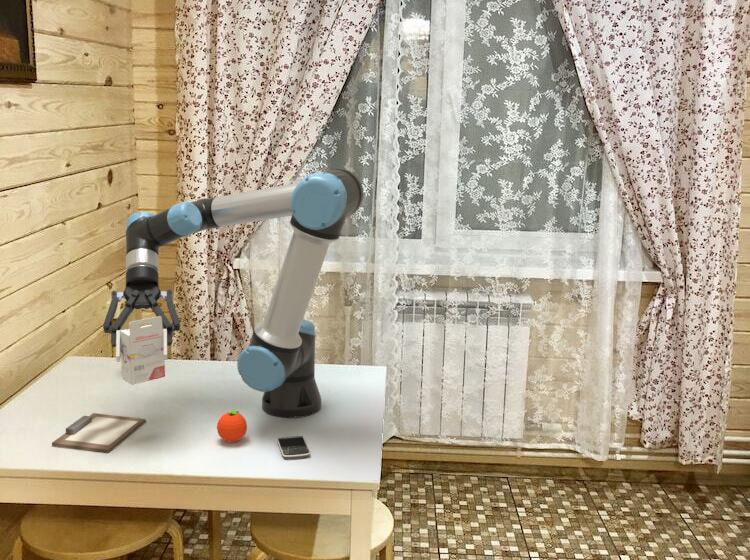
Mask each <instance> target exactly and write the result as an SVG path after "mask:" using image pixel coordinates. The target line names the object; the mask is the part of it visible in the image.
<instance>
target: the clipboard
mask: <svg viewBox="0 0 750 560" xmlns="http://www.w3.org/2000/svg"><path fill="white" fill-rule="evenodd" d="M145 423H147V419H146V418H141V417H140V418H139V417H132V416H131V417H130V416H123V415H122V416H121V415H114V414H104V413H96V412H93V413H91V414H90V415H83V416H81V417H80V418H79V419H77V420H76V421H74V422H73V423H71V424H70V425H69V426H67V427H66V428H65V433H63V434H62V435H61V436H59V437H58V438H56V439H55V440H54V441H52V442H51V447H56V446H58V447H57V448H64V447H66V448H65V449H72V450H82V451H89V452H95V453H105V454H110V452H112V451H113V450H114V449H115V448H116V447H118V446H119V445H121V443H123V442H124V441H125V440H126V439H127V438H129V437H130V436H131V435H132V434H134V433H135V432H136V431H137V430H138V429H140V427H142V426H143V425H145Z"/></svg>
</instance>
